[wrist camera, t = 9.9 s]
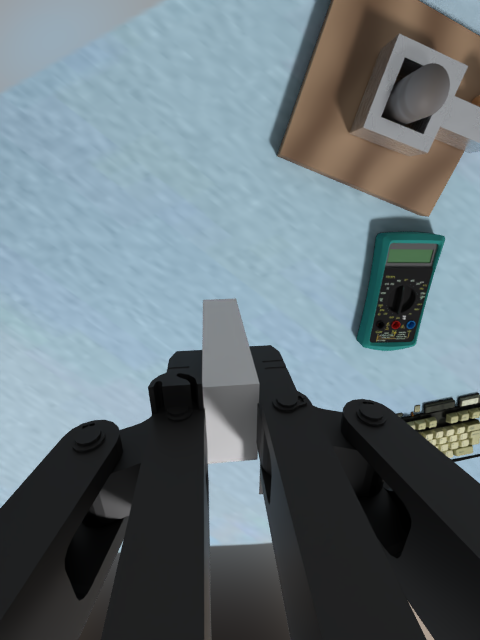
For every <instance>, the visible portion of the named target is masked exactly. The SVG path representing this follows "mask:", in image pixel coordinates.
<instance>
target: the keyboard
mask: <svg viewBox="0 0 480 640" xmlns="http://www.w3.org/2000/svg"><path fill="white" fill-rule="evenodd" d="M454 406H455V400H453V398H451V399H447V400H444V401H443V400H439V401H437V402H430V403H425V404H424V412H425V413H421V414H416V415H414V414H413V412H412V413H411V416H407V417H402V416H403V414H402V413H398V414H397V415H398V416H399V417H402V418H401V419H403V420H404V421H405V422H406V423H407V424H409V425H410V426H411V427H412V428H413V429H415V430H416V431H417V432H418V433H419V434H421V435H422V436H423V437H424V438H425V439H427V440H428V441H429V442H430V443H432V444H433V445H434V446H435V447H436V448H438V449H439V450H440V451H441V452H442V453H444V454H445V455H446V456H447V457H448V458H451V457H453V455H455V456H460V455H465V454H470V453H473V446H472V445H474V444H479V440H480V422H479V420H478V419H475V418H479V416H480V395H479V393H476V394H472V395H467V396H462V397H459V401H458V406H456V407H454ZM458 408H459V409H458ZM414 412H420V405H417V406H415V409H414ZM479 456H480V454H479V455H474V456H469V457H464V458H459V459H453V460H452V461H453V462H456V461H461V460H465V459H470V458H474V457H479Z"/></svg>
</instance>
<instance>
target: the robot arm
mask: <svg viewBox="0 0 480 640" xmlns="http://www.w3.org/2000/svg"><path fill="white" fill-rule="evenodd" d="M148 390H149V397H150V403H151V410H152V416H151V417H150V418H149V419H147V420H146V421H144V422H142V423H140V424H137V425H135V426H131V427H128V428H125V429H122V430H119V428H118V426H117V425H116V424H114V423H113V422H111V421H107V420H94V421H90V422H87V423H83V424H81V425H79V426H77V427H75V428H74V429H72V430H71V431H69V432H68V433H67V434H66V435H65V436H64V437H63V438H62V439H61V440H60V441H59V442H58V443H57V445H56V446H55V447H54V448H53V449H52V450H51V451H50V452H49V454H48V455H47V456H46V457H45V458H44V459H43V460H42V462H41V463H40V464H39V465H38V466H37V467H36V468H35V470H34V471H33V472H32V473H31V474H30V475H29V476H28V478H27V479H26V480H25V481H24V482H23V483H22V484H21V486H20V487H19V488H18V489H17V490H16V491H15V492H14V494H13V495H12V496H11V497H10V498H9V499H8V500H7V502H6V503H5V504H4V505H3V506H2V507H1V508H0V640H78V639H79V636H80V634H81V632H82V630H83V627H84V625H85V623H86V621H87V619H88V617H89V614H90V612H91V610H92V608H93V605H94V603H95V601H96V599H97V597H98V595H99V592H100V590H101V588H102V586H103V583H104V581H105V579H106V577H107V575H108V572H109V570H110V568H111V566H112V563H113V561H114V559H115V557H116V555H117V553H118V550H119V548H120V546H121V544H122V542H123V545H122V549H121V554H120V558H119V562H118V567H117V572H116V576H115V580H114V585H113V589H112V593H111V598H110V602H109V607H108V611H107V616H106V620H105V624H104V629H103V633H102V638H101V640H211V605H210V604H211V601H210V600H211V599H210V538H209V480H208V464H212V463H223V462H234V461H245V460H256V459H257V457H258V453H259V458H260V487H259V494H263V495H264V500H265V506H266V511H267V516H268V522H269V527H270V532H271V537H272V543H273V548H274V553H275V559H276V564H277V569H278V575H279V580H280V585H281V591H282V596H283V601H284V607H285V612H286V617H287V623H288V628H289V633H290V639H291V640H426V638H425V635H424V634H423V631H422V629H421V627H420V625H419V623H418V621H417V619H416V617H415V615H414V613H413V611H412V609H411V607H410V605H409V603H410V604H411V606H412V608H413V609H414V610H415V612H416V613H417V615H418V616H419V618H420V619H421V621H422V622H423V624H424V625H425V626H426V628H427V629H428V631H429V632H430V634H431V635H432V637H433V638H434V639H435V640H480V483H478V482H477V481H476V480H475V479H474V478H472V477H471V476H470V475H469V474H468V473H466V472H465V471H464V470H463V469H462V468H460V467H459V466H458V465H457V464H456V463H454V462H453V461H452V460H451V459H450V458H448V457H447V456H446V455H445V454H444V453H442V452H441V451H440V450H439V449H438V448H436V447H435V446H434V445H433V444H432V443H430V442H429V441H428V440H427V439H425V438H424V437H423V436H422V435H421V434H419V433H418V432H417V431H416V430H415V429H413V428H412V427H411V426H410V425H409V424H407V423H406V422H405V421H404V420H403V419H401V418H400V417H399V416H398V415H397V414H395V413H394V412H393V411H392V410H390V409H389V408H387V407H386V406H384V405H383V404H380V403H377V402H375V401H372V400H365V399H358V400H352V401H350V402H348V403H346V405H345V406H344V408H343V412H338V411H331V410H325V409H321V408H317V407H315V406H312V403H311V402H310V400H309V399H308V398H307V397H306V396H305V395H304V394H302V393H300V392H299V391H297V390H296V388H295V385H294V383H293V381H292V379H291V376H290V374H289V372H288V370H287V368H286V365H285V363H284V361H283V359H282V357H281V354H280V352H279V351H278V350H276V349H275V348H274V347H272V346H271V345H268V346H249V344H248V340H247V337H246V333H245V329H244V326H243V322H242V319H241V315H240V311H239V308H238V304H237V301H236V299H216V300H203V350H194V351H177V352H176V353H175V354H174V355H173V356H172V357H171V358H170V359H169V363H168V369H167V373H165V374H162V375H160V376H158V377H157V378H155V379H154V380H153V381H152V382H151V383H150V385H149V387H148ZM123 539H124V540H123ZM407 600H408V601H407ZM408 602H409V603H408Z"/></svg>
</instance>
